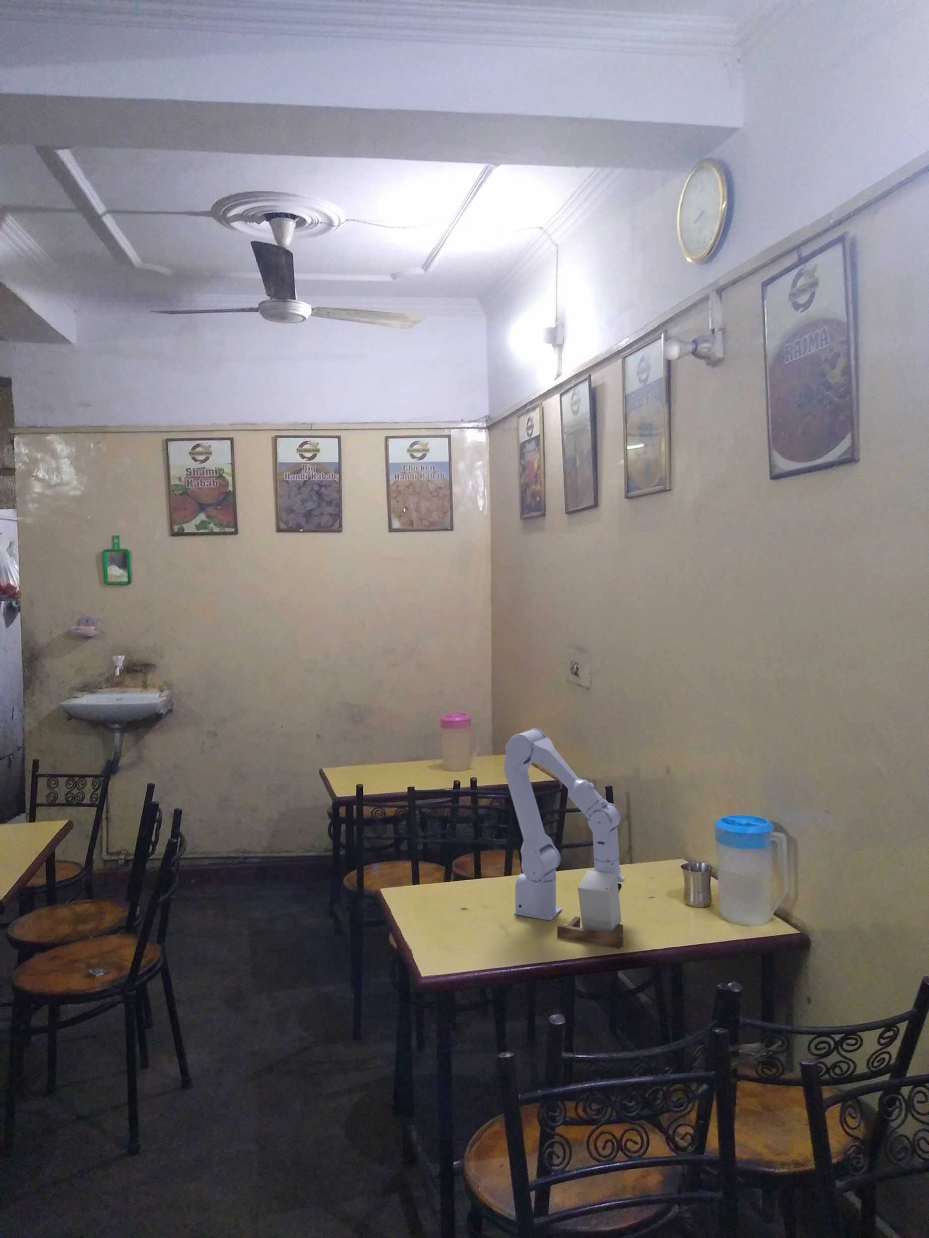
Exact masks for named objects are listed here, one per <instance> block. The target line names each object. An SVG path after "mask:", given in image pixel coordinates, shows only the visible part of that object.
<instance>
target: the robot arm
mask: <svg viewBox="0 0 929 1238" xmlns="http://www.w3.org/2000/svg"><path fill="white" fill-rule="evenodd" d="M504 750H505V756H504V758H505V759H504V764H503V770H504V771H503V772H504V774H505V778H506V782H507V786H508V789H509V793H510V796H511V801H512V803H513V807H514V811H515V813H516V819H517V822H518V825H519V828H520V831H521V835H522V839H523V842H522V845H521V848H520V854H521V870H522V873H520V874H519V875H518V877H517V879H516V881H515V890H514V891H515V894H514V896H515V897H514V898H515V899H514V901H515V902H514V903H515V905H514V907H515V908H514V909H515V911H513V914H514V915H517V916H522V917H528V918H533V919H540V920H546V921H552V920H553V919H554V918H555V917H556V916H557V915H558V914H559V913H560V912H561V911H562V910H563V908H562V907H561V906H557V873H556V872H557V871H556V870H557V868H558V867H559V866H560V863H561V854H560V852H559V850H558V849H557V848H556V847H555V844H554V843H553V839H552V838H551V836H549V835H547V834H546V832H545V827H544V825H543V822H542V818H541V815H540V811H539V807H538V803H537V800H536V797H535V794H534V789H533V786H532V783H531V779H530V776H529V769H530V767H531V766H532V764H540V765H544V767H546V768H547V769H548V770H549V771H550V772H551V773H552V774H553V775H554V776H555V777H556V778H557V779H558V780H559V781H560V782H561V784H563V785H564V786H565V788H567V791H568V792H567V796H568V798H569V799H570V800H571V801H572V802H573V804H575V806H576V807H577V808H578V809H579V810H580V811H581V813H583V815H584V816H585V817H586V818H587V819H588V820H587V825H588V827H589V829H590V830H591V833H592V839H593V840H592V842H593V860H594V862H593V863H594V864H593V865H594V871H597V872H604V873H612V874H617V880H618V890H619V893H620V892H621V889H622V888H623V887H622V886H623V885H622V883H625V881H626V877H625V876H622V874H621V870H622V869H621V867H620V851H619V847H620V846H619V833H618V827H617V826H618V825H619V824H620V822H621V820H622V819H621V812H620V810H619V808H617V805H615V804H614V803H610V802H608V800H607V799H604V798H603V797H602V796H601V795H600V793H598V791H597V790H596V789H595V784H594V783H593V782H589V781H588V780H587V779H581V778H579V777H578V776H577V775H576V773H575V772H574V770H572V769H571V767H570V766H569V764H568V763H567V762H566V760H564V758H563V756H561V755H560V753H559V752H558V751H557V750H556V748H555V745H554V744H553V741H552V739H550V738H549V737H547V735H546V734H545V732H543V731H542V730H541V729H539V728H530V729H528V730H526V731H523V732H521V733H515V734H513V735H512V736H511V737H510V738H509V739H508V741H507V742H506V744H505V746H504Z"/></svg>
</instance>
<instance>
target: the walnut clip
mask: <svg viewBox="0 0 929 1238" xmlns="http://www.w3.org/2000/svg"><path fill="white" fill-rule="evenodd" d="M556 938H560V939H567V940H571V941H577V942H582V941H583V943H587V942H588V944H592V943H593V944H594V945H598V946H603V945H604V947H608V946H609V948H614V947H616V948H615V949H619V948H622V947H623V948H624V924H621V923H620V924H618V925H617V926H616V927H615V928H614V929H613V931H612V932H611V933H605V932H600V931H594V930H589V929H583V928H582V927H581V916H574V917H573V918H572V919H571V920H570V921H569V922H568V923H567V924H560V923H559V924H557V925H556ZM623 948H622V949H623Z"/></svg>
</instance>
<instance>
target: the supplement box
mask: <svg viewBox="0 0 929 1238" xmlns="http://www.w3.org/2000/svg"><path fill="white" fill-rule="evenodd" d="M618 883H619V882H618V880H617V874H612V873H604V872H597V871H595V870H586V872H585V874H584V876H583V878H582V880H581V881H580V883H579V885H578V886H577V892H578V899H579V910H580V921H581V928H583V929H589V930H594V931H600V932H605V933H611V932H612V931H613V929H614V928H615V927H616V926H617V925H618V924H621V923H622V915H621V914H622V913H621V912H622V911H621V904H620V903H621V902H620V892H619V890H618Z"/></svg>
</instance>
